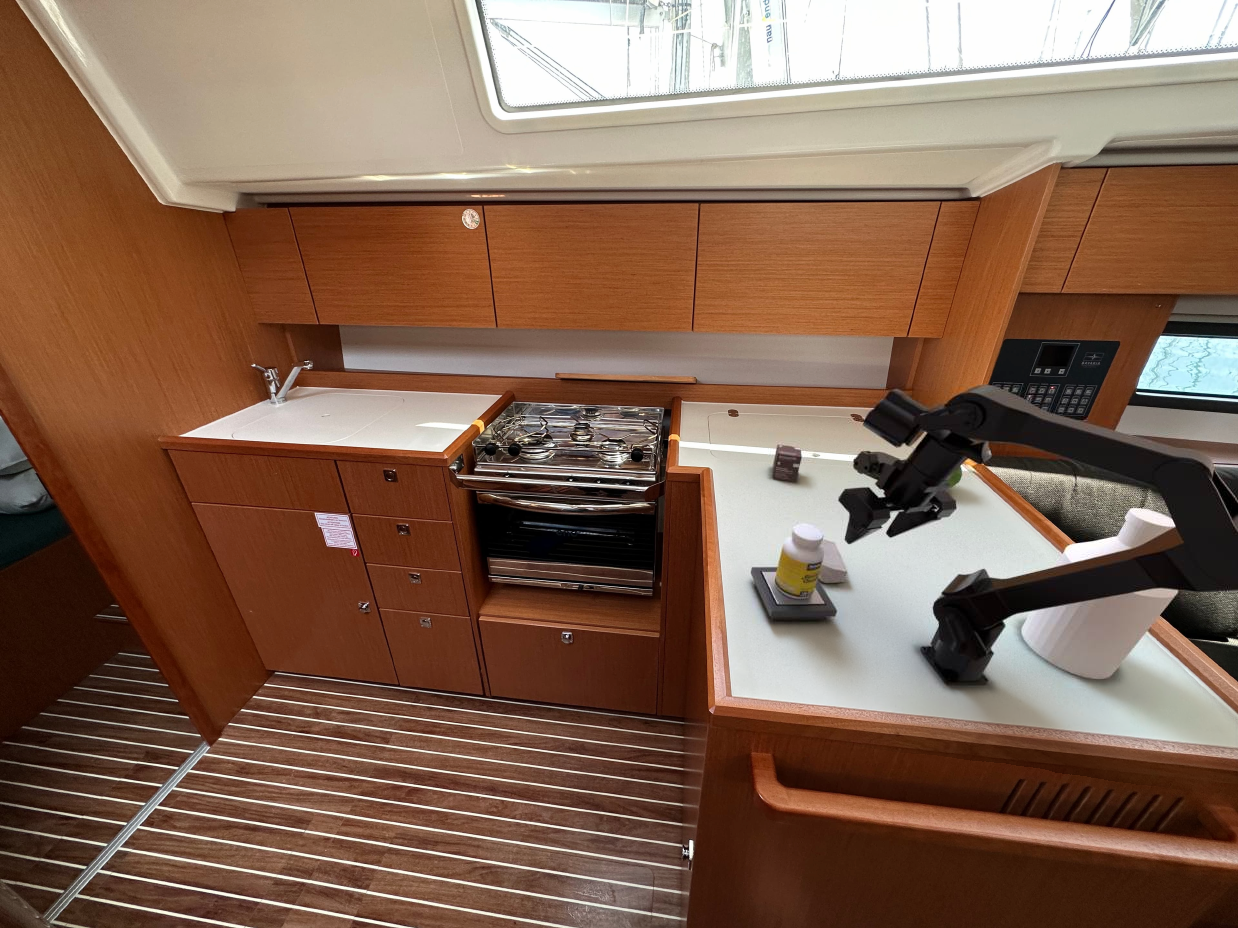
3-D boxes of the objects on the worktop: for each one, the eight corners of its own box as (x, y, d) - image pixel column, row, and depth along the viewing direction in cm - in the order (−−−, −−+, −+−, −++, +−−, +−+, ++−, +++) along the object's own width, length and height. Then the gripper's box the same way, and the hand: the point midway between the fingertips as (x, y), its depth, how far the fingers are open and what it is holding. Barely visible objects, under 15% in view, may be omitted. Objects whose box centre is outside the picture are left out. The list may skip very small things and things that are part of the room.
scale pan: (823, 609, 78) (825, 603, 77) (776, 610, 77) (777, 603, 77) (804, 577, 85) (805, 571, 84) (760, 577, 85) (762, 571, 84)
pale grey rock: (832, 595, 89) (851, 581, 84) (801, 585, 88) (819, 570, 84) (827, 552, 96) (844, 536, 91) (798, 542, 95) (814, 526, 91)
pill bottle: (790, 604, 77) (806, 547, 71) (766, 579, 82) (778, 524, 77) (821, 595, 79) (839, 539, 74) (795, 571, 84) (810, 517, 79)
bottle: (1003, 632, 77) (1076, 503, 66) (1044, 612, 82) (1119, 488, 70) (1090, 691, 68) (1193, 552, 56) (1132, 665, 72) (1235, 531, 61)
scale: (832, 624, 78) (837, 610, 76) (768, 624, 77) (771, 611, 76) (806, 579, 87) (810, 566, 86) (748, 579, 87) (751, 566, 85)
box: (771, 478, 122) (777, 453, 119) (771, 468, 127) (777, 443, 124) (796, 482, 120) (802, 457, 117) (795, 472, 126) (801, 447, 122)
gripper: (929, 430, 75) (875, 498, 85) (842, 433, 68) (794, 507, 78) (989, 477, 67) (921, 546, 77) (898, 486, 60) (836, 561, 70)
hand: (868, 538), depth 76 cm, fingers open, 9 cm apart
